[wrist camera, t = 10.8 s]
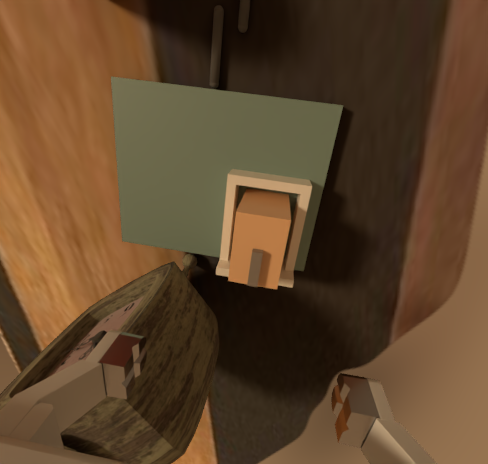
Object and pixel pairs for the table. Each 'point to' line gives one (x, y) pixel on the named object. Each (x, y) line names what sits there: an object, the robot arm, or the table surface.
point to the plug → (260, 238)
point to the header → (271, 183)
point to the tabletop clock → (152, 376)
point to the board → (210, 158)
